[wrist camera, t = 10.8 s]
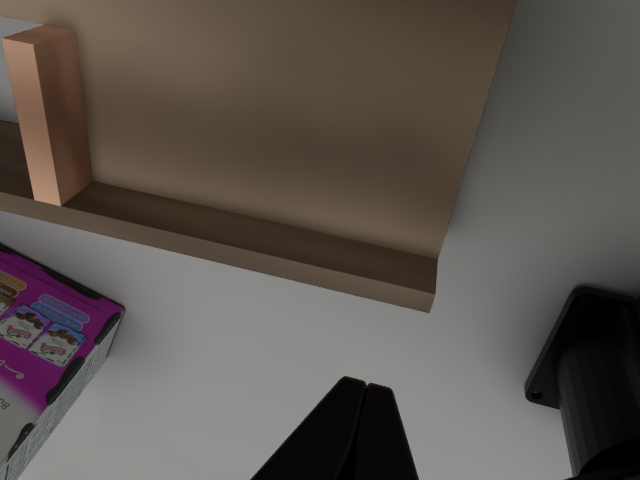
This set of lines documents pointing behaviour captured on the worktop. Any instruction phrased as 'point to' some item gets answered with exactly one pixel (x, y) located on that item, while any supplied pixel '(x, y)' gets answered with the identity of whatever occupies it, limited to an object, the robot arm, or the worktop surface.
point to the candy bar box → (44, 353)
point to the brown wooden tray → (254, 129)
